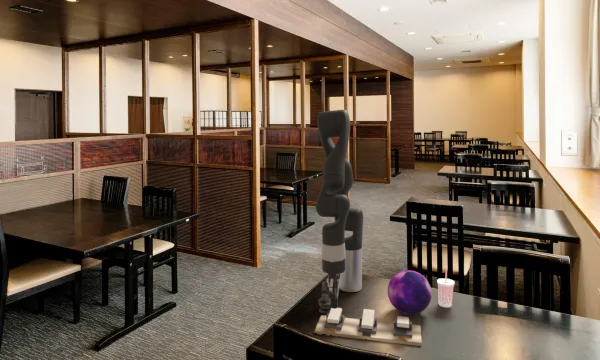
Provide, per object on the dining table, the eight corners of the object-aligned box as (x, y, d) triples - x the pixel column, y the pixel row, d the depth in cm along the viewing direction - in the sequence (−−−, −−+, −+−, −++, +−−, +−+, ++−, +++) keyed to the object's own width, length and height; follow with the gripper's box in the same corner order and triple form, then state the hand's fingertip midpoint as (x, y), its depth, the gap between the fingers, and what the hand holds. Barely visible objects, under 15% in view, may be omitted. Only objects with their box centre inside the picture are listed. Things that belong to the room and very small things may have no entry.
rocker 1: (331, 310, 139) (331, 307, 139) (342, 311, 138) (342, 308, 138) (327, 322, 131) (327, 318, 131) (338, 323, 130) (338, 320, 130)
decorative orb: (387, 301, 153) (387, 263, 151) (428, 304, 150) (429, 265, 148) (387, 320, 138) (388, 278, 136) (433, 324, 135) (434, 281, 133)
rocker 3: (397, 319, 133) (397, 316, 133) (408, 321, 132) (408, 317, 133) (397, 326, 126) (397, 322, 126) (409, 327, 125) (409, 323, 125)
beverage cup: (457, 305, 148) (458, 268, 147) (447, 309, 145) (448, 272, 143) (443, 299, 153) (444, 264, 152) (432, 303, 150) (433, 267, 148)
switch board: (321, 317, 141) (321, 307, 140) (420, 328, 132) (420, 317, 132) (314, 333, 130) (314, 322, 130) (421, 346, 122) (421, 334, 121)
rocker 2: (363, 311, 136) (363, 308, 135) (374, 312, 135) (374, 309, 135) (361, 327, 129) (361, 324, 128) (372, 329, 128) (372, 325, 127)
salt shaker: (333, 306, 149) (333, 275, 148) (335, 313, 143) (335, 281, 142) (317, 307, 149) (317, 275, 147) (318, 314, 143) (318, 282, 142)
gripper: (325, 249, 136) (326, 297, 138) (317, 262, 123) (318, 316, 126) (348, 250, 134) (348, 299, 137) (342, 264, 121) (342, 318, 124)
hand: (334, 307), depth 131 cm, fingers closed
